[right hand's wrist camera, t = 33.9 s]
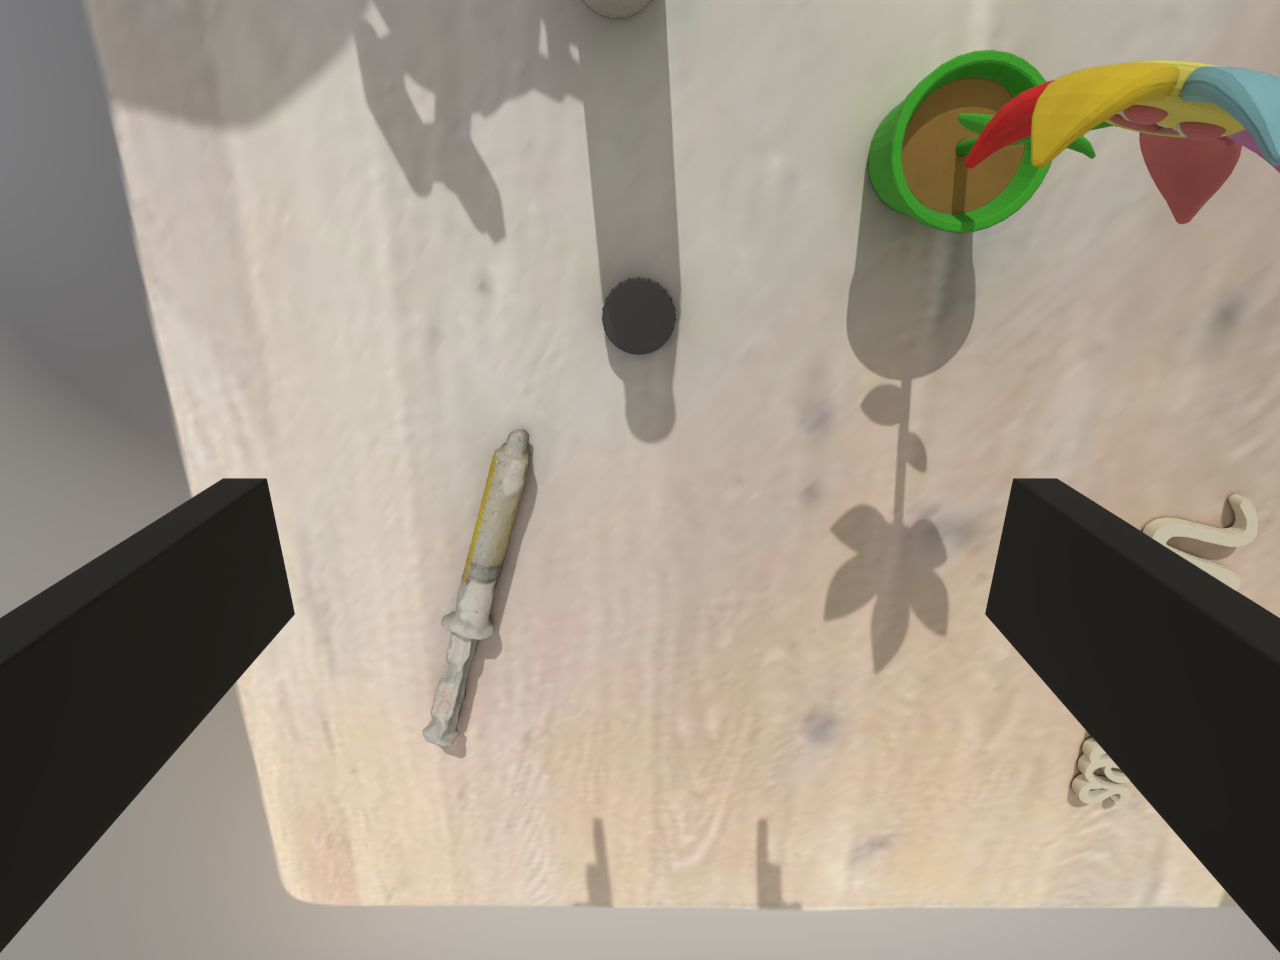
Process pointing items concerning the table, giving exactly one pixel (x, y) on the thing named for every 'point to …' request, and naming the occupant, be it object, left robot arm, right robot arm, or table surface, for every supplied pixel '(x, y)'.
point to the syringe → (479, 582)
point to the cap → (638, 316)
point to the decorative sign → (1237, 535)
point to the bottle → (617, 7)
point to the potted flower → (1064, 132)
